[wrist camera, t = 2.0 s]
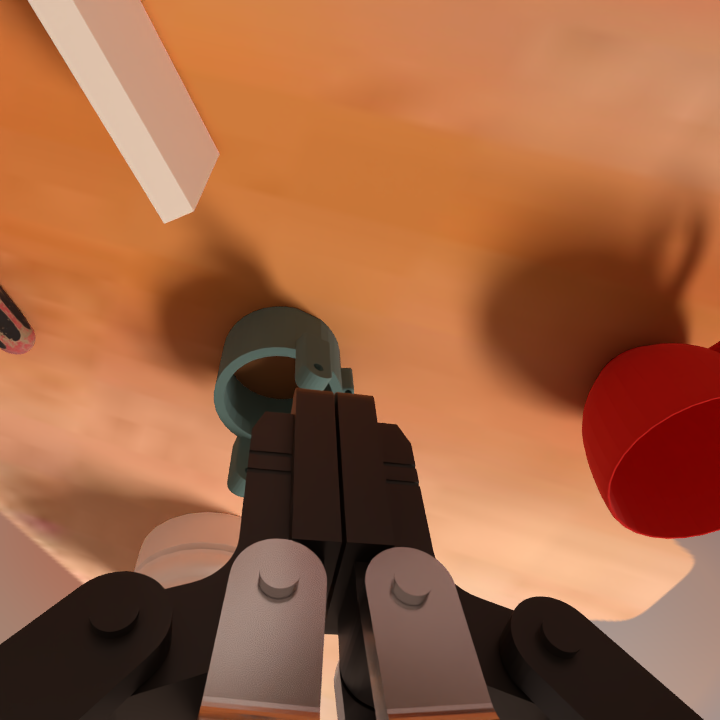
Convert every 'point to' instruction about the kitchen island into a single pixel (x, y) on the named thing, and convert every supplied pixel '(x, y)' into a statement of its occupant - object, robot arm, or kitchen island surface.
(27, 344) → the screwdriver
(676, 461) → the ceramic cup
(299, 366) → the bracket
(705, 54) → the kitchen island surface
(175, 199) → the cream flat slab
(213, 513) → the honey pot
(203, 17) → the kitchen island surface
